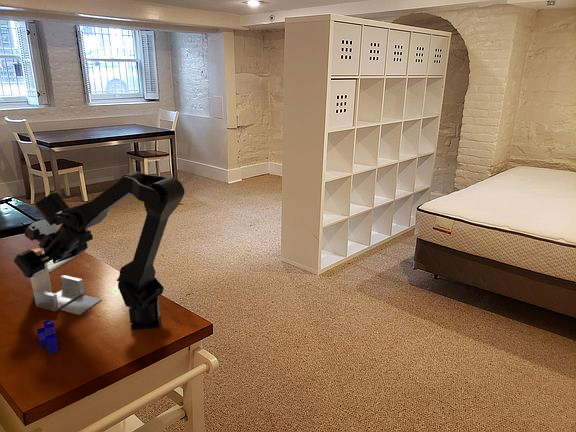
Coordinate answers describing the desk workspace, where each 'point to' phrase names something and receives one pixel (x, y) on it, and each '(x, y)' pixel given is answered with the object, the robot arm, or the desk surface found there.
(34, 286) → the white upright post
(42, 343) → the cable holder
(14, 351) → the desk surface
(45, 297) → the bracket
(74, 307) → the pad
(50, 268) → the external hard drive
